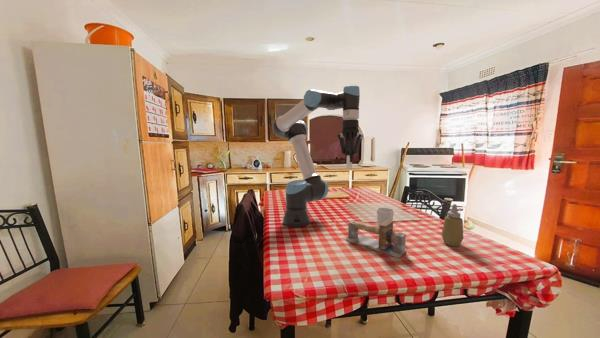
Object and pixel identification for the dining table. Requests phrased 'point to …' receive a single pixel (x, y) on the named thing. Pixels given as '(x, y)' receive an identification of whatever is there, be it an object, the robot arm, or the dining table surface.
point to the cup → (384, 215)
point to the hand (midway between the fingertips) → (349, 168)
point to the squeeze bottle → (453, 228)
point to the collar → (385, 234)
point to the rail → (393, 250)
